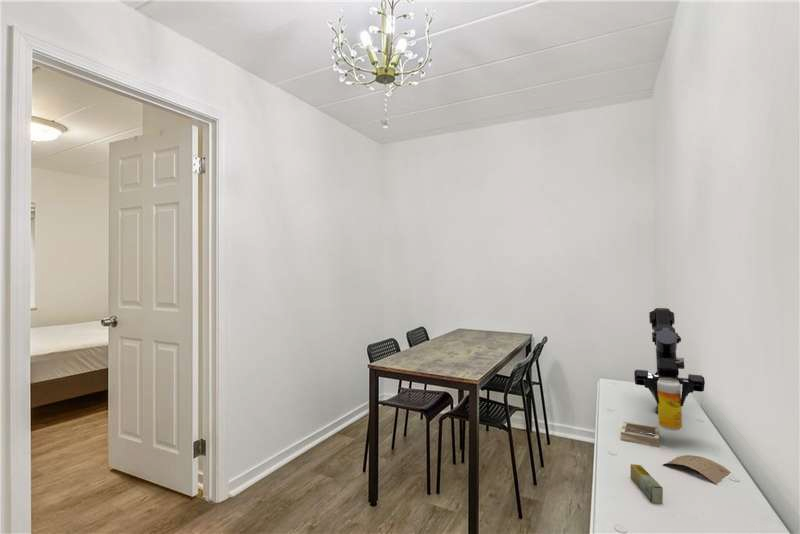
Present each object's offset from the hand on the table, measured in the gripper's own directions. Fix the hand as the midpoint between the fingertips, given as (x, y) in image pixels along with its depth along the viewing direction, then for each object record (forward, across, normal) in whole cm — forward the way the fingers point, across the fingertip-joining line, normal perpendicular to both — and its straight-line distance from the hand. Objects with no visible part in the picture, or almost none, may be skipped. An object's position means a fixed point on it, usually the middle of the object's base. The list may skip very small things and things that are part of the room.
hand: (669, 404), depth 123 cm
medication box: (+32, -7, -13) cm, 35 cm away
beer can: (+5, 0, +6) cm, 8 cm away
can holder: (+7, -8, +12) cm, 16 cm away
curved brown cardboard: (+19, +5, 0) cm, 20 cm away
